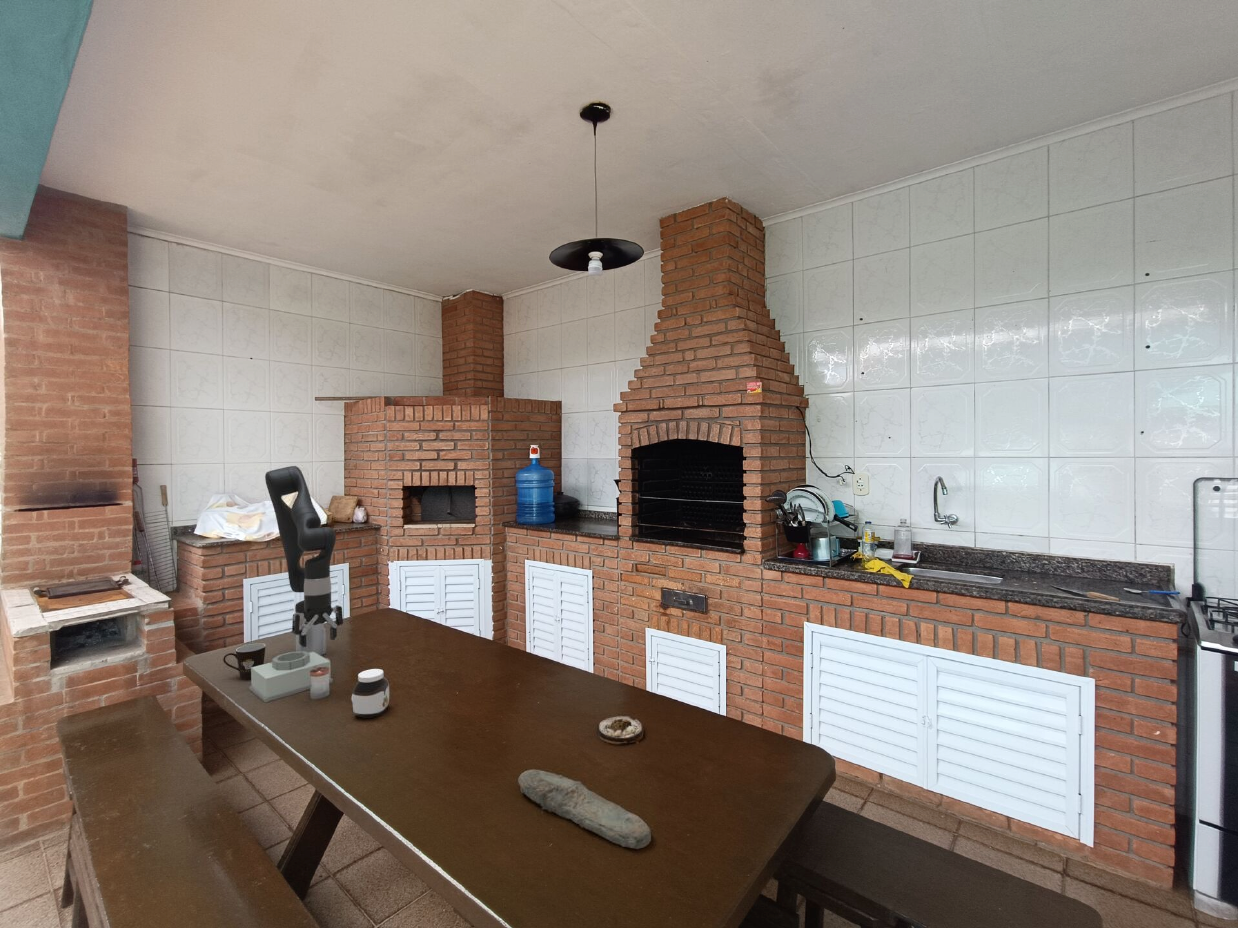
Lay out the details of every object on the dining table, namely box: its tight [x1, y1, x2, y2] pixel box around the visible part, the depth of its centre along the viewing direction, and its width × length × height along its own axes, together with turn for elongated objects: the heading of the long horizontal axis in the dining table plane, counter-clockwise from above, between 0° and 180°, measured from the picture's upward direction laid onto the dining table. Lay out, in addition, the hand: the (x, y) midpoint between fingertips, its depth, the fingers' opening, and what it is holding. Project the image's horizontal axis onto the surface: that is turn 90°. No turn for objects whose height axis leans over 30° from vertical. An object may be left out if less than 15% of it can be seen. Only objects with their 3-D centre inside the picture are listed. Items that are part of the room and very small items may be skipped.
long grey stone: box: [517, 769, 652, 850], centre depth 120 cm, size 35×5×10 cm
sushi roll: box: [596, 715, 645, 746], centre depth 153 cm, size 15×15×4 cm
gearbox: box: [248, 651, 334, 703], centre depth 187 cm, size 22×15×10 cm
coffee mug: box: [222, 642, 267, 681], centre depth 194 cm, size 12×9×10 cm
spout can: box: [309, 666, 330, 700], centre depth 179 cm, size 5×5×10 cm
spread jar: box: [351, 668, 390, 719], centre depth 168 cm, size 12×11×12 cm
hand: (318, 642), depth 178 cm, fingers open, 8 cm apart
